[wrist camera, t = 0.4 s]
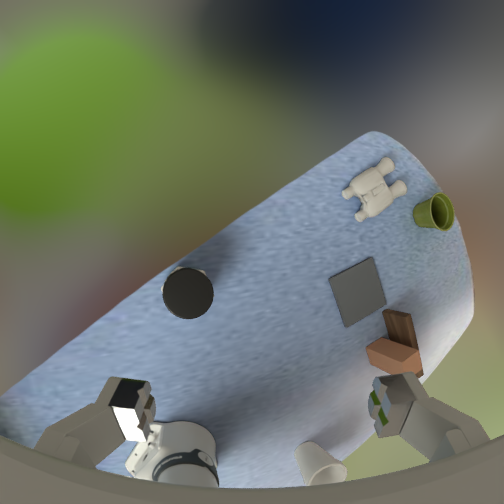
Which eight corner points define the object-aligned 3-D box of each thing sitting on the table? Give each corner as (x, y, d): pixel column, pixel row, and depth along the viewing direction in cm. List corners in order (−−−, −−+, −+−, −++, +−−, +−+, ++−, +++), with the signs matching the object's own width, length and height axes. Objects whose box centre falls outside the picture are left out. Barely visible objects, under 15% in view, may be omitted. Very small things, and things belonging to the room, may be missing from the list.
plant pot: (404, 224, 73) (427, 220, 65) (412, 191, 74) (434, 185, 66) (427, 239, 75) (450, 237, 66) (434, 207, 76) (457, 203, 68)
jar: (183, 255, 61) (185, 255, 49) (216, 282, 62) (225, 287, 50) (155, 292, 59) (150, 300, 48) (188, 317, 61) (191, 331, 49)
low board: (397, 368, 72) (418, 378, 63) (382, 311, 71) (405, 317, 62) (401, 365, 72) (423, 374, 64) (386, 308, 71) (410, 313, 62)
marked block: (370, 364, 70) (405, 381, 56) (365, 347, 70) (401, 362, 56) (386, 353, 71) (423, 368, 58) (382, 336, 71) (419, 349, 57)
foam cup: (299, 471, 66) (320, 500, 53) (280, 453, 64) (299, 483, 52) (329, 449, 67) (353, 475, 55) (312, 429, 66) (336, 456, 54)
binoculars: (399, 195, 73) (411, 192, 69) (358, 227, 70) (369, 225, 66) (379, 159, 72) (390, 154, 68) (335, 188, 69) (345, 183, 64)
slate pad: (344, 327, 68) (346, 327, 68) (328, 278, 68) (329, 279, 67) (384, 303, 71) (386, 304, 70) (370, 257, 70) (372, 257, 69)
